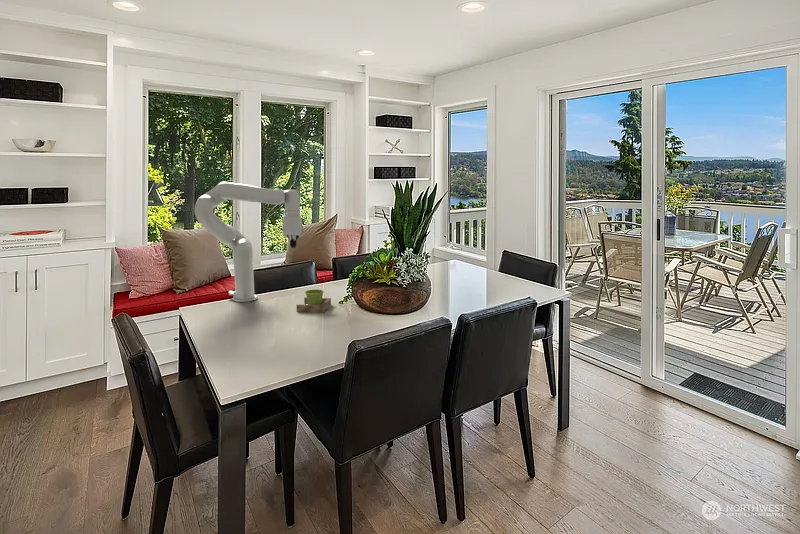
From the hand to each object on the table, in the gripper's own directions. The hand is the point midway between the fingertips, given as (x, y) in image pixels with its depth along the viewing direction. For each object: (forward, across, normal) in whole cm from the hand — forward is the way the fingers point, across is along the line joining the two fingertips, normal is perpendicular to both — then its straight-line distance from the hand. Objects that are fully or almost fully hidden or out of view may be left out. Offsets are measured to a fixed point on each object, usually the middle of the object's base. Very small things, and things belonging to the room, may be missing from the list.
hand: (293, 247), depth 260 cm
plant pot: (+27, +17, -22) cm, 39 cm away
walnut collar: (+27, +16, -22) cm, 38 cm away
